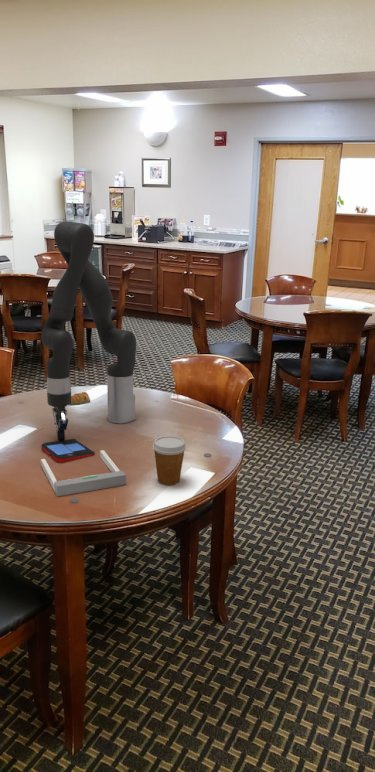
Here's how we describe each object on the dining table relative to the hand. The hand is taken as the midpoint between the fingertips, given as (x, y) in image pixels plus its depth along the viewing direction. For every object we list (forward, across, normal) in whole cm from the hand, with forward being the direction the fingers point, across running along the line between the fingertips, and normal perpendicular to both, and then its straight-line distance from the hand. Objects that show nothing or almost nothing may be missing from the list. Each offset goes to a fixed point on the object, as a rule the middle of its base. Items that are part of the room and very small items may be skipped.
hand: (60, 439), depth 195 cm
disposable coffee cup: (+1, -38, -22) cm, 44 cm away
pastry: (+2, +38, -15) cm, 41 cm away
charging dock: (+1, -25, 0) cm, 25 cm away
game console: (+2, -8, 0) cm, 8 cm away
